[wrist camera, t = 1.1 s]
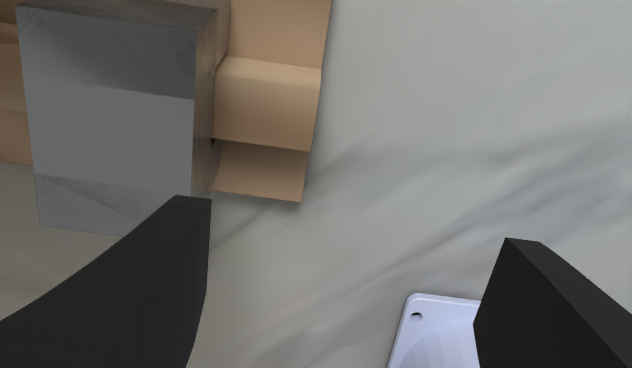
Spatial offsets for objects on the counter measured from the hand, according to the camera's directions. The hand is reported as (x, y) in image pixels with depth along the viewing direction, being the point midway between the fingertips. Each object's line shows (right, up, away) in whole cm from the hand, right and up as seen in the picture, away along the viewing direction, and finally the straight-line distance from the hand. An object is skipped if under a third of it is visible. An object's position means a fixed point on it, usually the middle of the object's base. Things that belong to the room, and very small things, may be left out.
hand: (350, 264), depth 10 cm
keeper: (-6, +5, +8) cm, 11 cm away
